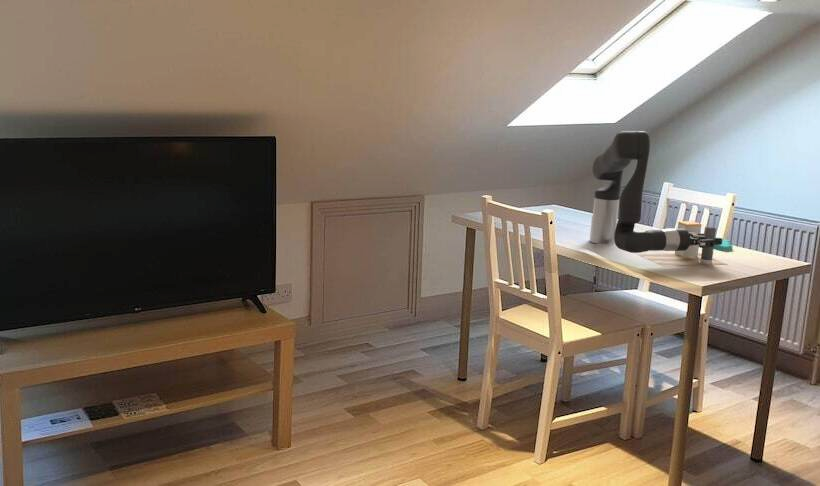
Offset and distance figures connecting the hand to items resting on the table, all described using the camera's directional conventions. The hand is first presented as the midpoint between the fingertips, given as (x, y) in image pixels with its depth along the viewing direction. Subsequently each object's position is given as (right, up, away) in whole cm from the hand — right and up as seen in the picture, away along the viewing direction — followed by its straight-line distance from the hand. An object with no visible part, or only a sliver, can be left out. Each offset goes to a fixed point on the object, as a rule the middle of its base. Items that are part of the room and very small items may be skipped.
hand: (715, 238), depth 279 cm
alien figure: (+10, -3, +37) cm, 39 cm away
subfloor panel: (-10, -9, +6) cm, 14 cm away
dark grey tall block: (-3, -8, +1) cm, 9 cm away
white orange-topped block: (-6, -6, +12) cm, 15 cm away
